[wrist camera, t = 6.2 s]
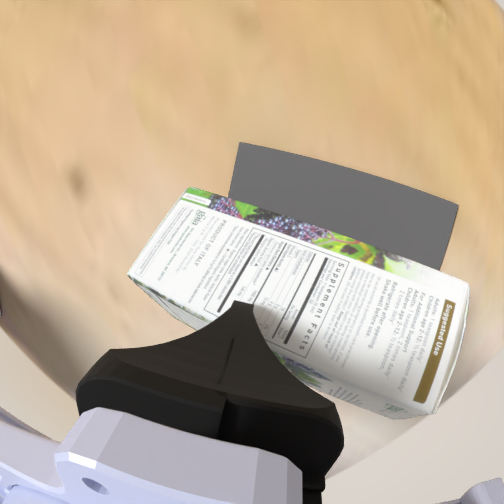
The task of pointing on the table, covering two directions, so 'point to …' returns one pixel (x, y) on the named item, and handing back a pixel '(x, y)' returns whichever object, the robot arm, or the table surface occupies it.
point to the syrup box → (312, 300)
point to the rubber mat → (345, 202)
